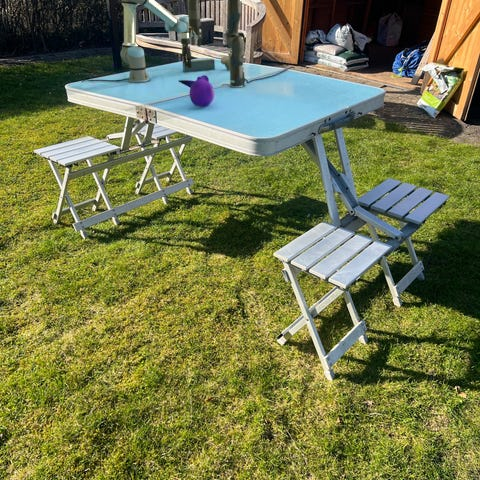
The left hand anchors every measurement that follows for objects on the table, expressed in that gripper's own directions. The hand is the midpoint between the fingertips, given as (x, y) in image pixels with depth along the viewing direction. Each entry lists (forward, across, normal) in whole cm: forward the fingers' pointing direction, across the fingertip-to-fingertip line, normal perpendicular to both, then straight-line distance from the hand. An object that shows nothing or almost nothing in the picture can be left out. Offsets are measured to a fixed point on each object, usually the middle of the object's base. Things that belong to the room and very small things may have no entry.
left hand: (187, 66), depth 369 cm
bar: (+4, 0, -10) cm, 11 cm away
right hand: (-25, -76, +14) cm, 81 cm away
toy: (+4, -112, +26) cm, 115 cm away
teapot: (+4, -10, -36) cm, 37 cm away
